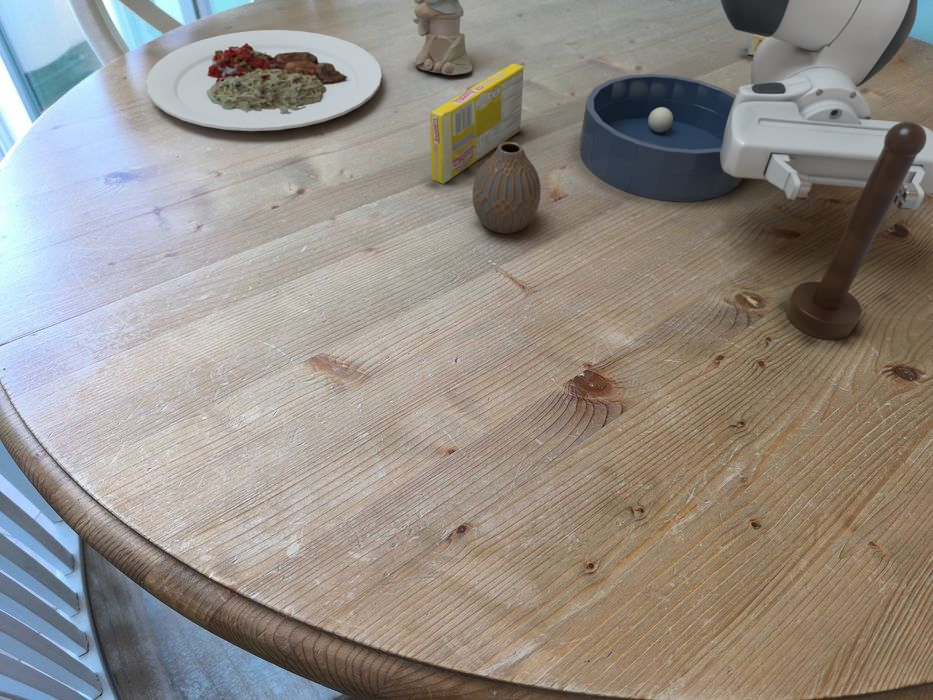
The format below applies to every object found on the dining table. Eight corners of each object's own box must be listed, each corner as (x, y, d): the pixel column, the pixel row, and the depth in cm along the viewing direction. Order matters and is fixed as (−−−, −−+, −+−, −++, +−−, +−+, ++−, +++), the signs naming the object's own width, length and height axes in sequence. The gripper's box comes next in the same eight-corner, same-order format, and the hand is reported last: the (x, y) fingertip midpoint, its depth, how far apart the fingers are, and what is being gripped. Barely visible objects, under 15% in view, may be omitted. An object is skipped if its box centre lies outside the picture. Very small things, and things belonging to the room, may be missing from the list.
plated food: (319, 162, 86) (316, 135, 84) (98, 114, 92) (90, 87, 90) (415, 64, 107) (415, 40, 105) (230, 30, 113) (226, 6, 111)
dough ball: (668, 126, 95) (674, 104, 93) (671, 137, 93) (676, 115, 91) (645, 124, 95) (649, 102, 93) (646, 135, 93) (652, 113, 91)
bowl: (730, 126, 97) (743, 81, 93) (758, 208, 83) (775, 160, 79) (578, 113, 98) (585, 68, 94) (580, 193, 84) (589, 144, 79)
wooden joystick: (843, 300, 72) (939, 108, 58) (860, 343, 67) (969, 146, 54) (779, 294, 72) (861, 102, 58) (793, 336, 67) (884, 139, 54)
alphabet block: (748, 48, 116) (754, 28, 114) (768, 51, 116) (775, 31, 113) (746, 55, 114) (752, 35, 112) (767, 59, 113) (774, 38, 111)
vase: (487, 248, 75) (493, 170, 69) (460, 212, 80) (463, 136, 74) (548, 234, 77) (558, 158, 71) (518, 200, 82) (526, 125, 76)
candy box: (506, 126, 94) (512, 61, 89) (521, 131, 93) (527, 66, 88) (428, 179, 84) (428, 109, 79) (443, 185, 84) (445, 115, 78)
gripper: (910, 160, 76) (962, 239, 66) (706, 143, 77) (727, 218, 67) (939, 101, 71) (1000, 175, 61) (723, 83, 72) (748, 154, 62)
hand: (856, 198), depth 64 cm, fingers open, 8 cm apart
